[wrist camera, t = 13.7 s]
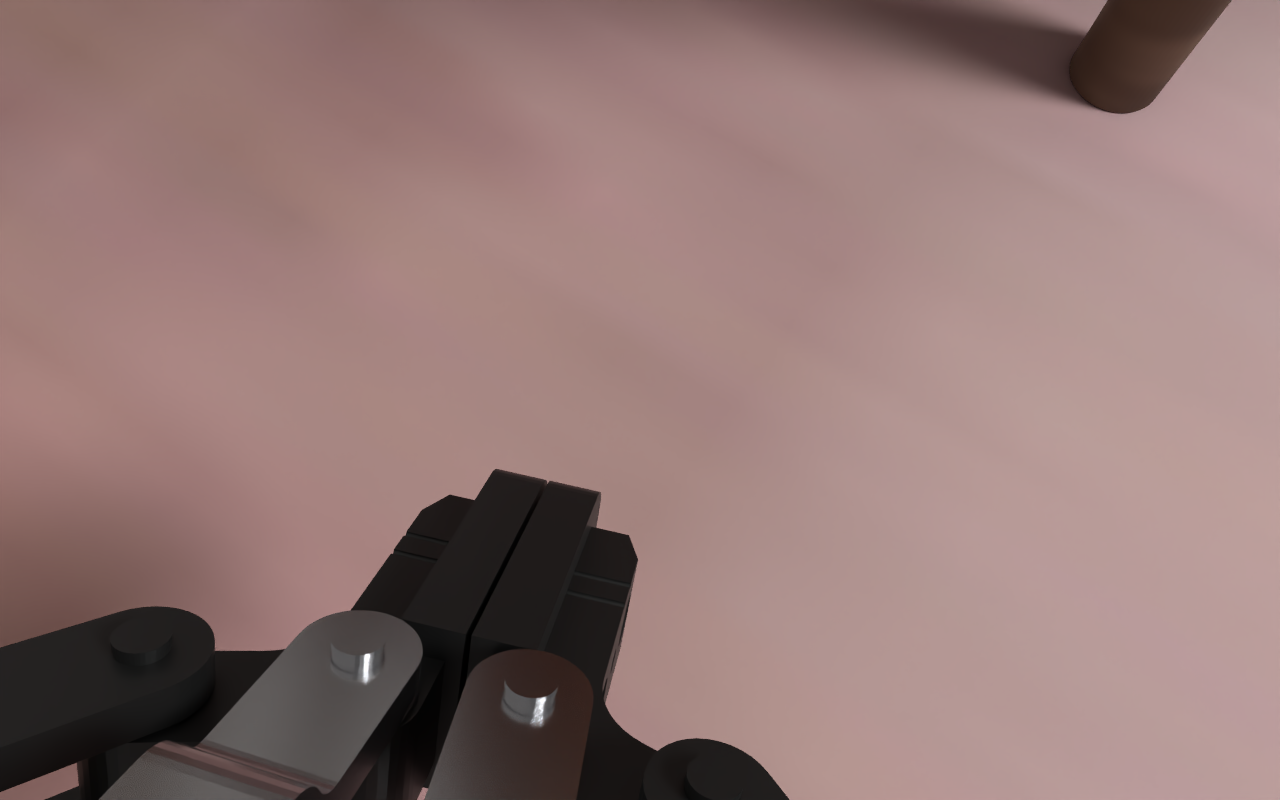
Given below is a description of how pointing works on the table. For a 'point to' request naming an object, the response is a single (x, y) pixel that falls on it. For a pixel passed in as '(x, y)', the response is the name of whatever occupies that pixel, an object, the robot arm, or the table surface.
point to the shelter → (1138, 49)
